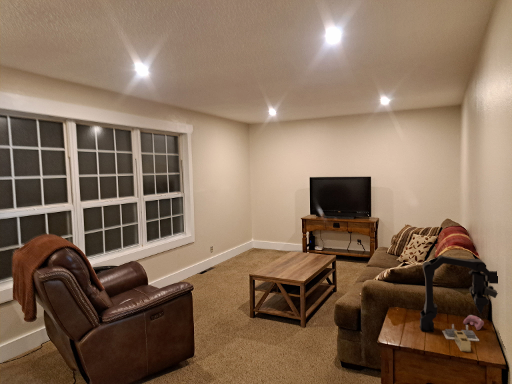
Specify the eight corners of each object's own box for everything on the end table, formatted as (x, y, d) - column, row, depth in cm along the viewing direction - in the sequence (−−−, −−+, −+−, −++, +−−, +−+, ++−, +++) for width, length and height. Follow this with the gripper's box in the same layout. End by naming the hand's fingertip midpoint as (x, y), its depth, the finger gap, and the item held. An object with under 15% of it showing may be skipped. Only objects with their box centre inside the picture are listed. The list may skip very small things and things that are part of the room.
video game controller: (482, 332, 198) (486, 320, 198) (476, 330, 197) (481, 318, 197) (467, 325, 207) (471, 314, 208) (461, 323, 206) (466, 311, 207)
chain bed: (446, 338, 190) (446, 327, 190) (442, 331, 199) (441, 320, 198) (479, 341, 186) (479, 329, 185) (473, 333, 195) (473, 322, 194)
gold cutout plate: (470, 351, 176) (470, 342, 176) (461, 351, 178) (460, 341, 177) (463, 340, 188) (462, 331, 188) (454, 339, 189) (453, 330, 189)
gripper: (500, 289, 179) (500, 319, 180) (492, 278, 196) (492, 305, 197) (475, 287, 184) (475, 316, 185) (469, 276, 201) (469, 302, 202)
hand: (478, 309), depth 192 cm, fingers open, 9 cm apart
